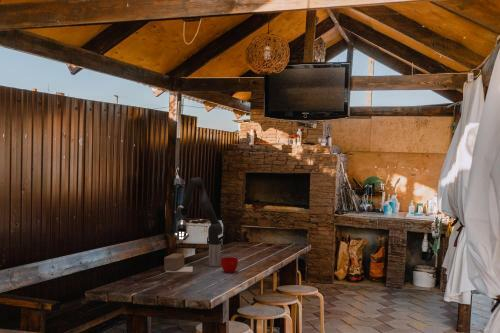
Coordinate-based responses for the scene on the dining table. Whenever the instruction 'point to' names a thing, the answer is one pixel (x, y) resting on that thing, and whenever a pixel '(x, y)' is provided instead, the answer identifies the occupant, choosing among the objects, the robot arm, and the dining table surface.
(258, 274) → the dining table surface
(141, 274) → the dining table surface
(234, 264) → the ceramic cup
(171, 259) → the wooden block
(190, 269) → the pale grey mat
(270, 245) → the dining table surface
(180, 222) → the robot arm
